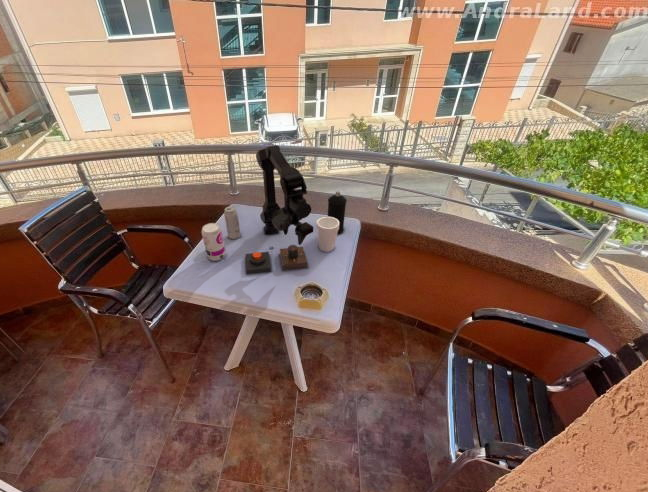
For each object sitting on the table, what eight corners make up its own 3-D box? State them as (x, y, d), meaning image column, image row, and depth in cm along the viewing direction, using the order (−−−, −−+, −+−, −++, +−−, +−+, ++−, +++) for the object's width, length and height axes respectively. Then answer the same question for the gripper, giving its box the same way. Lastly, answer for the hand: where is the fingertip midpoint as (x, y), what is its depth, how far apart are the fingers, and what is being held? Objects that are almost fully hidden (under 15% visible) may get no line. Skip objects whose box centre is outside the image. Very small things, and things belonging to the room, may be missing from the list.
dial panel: (280, 254, 140) (279, 248, 138) (302, 251, 141) (302, 246, 138) (283, 270, 132) (282, 264, 130) (307, 267, 132) (307, 262, 130)
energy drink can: (240, 239, 150) (236, 212, 141) (227, 240, 151) (222, 212, 141) (241, 232, 155) (237, 205, 145) (229, 233, 155) (224, 205, 146)
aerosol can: (339, 236, 148) (343, 197, 135) (323, 231, 151) (325, 193, 138) (346, 227, 153) (350, 189, 140) (330, 223, 157) (333, 185, 144)
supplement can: (228, 251, 144) (223, 223, 134) (220, 263, 138) (214, 234, 128) (212, 249, 146) (206, 221, 136) (204, 260, 140) (197, 231, 130)
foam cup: (336, 254, 138) (338, 229, 129) (315, 253, 139) (315, 228, 131) (337, 241, 145) (339, 217, 136) (317, 240, 146) (318, 216, 138)
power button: (253, 255, 135) (252, 252, 133) (261, 254, 135) (261, 251, 134) (253, 260, 132) (253, 257, 131) (262, 260, 132) (261, 256, 131)
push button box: (246, 257, 140) (245, 250, 137) (268, 255, 140) (268, 248, 137) (246, 274, 131) (245, 266, 129) (271, 271, 132) (270, 264, 129)
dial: (287, 252, 136) (287, 244, 133) (297, 251, 136) (296, 243, 133) (289, 258, 133) (288, 250, 130) (298, 257, 133) (298, 249, 130)
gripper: (260, 203, 122) (263, 236, 132) (290, 223, 110) (291, 258, 120) (283, 193, 126) (284, 227, 136) (315, 212, 114) (313, 247, 124)
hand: (292, 239), depth 129 cm, fingers open, 9 cm apart
